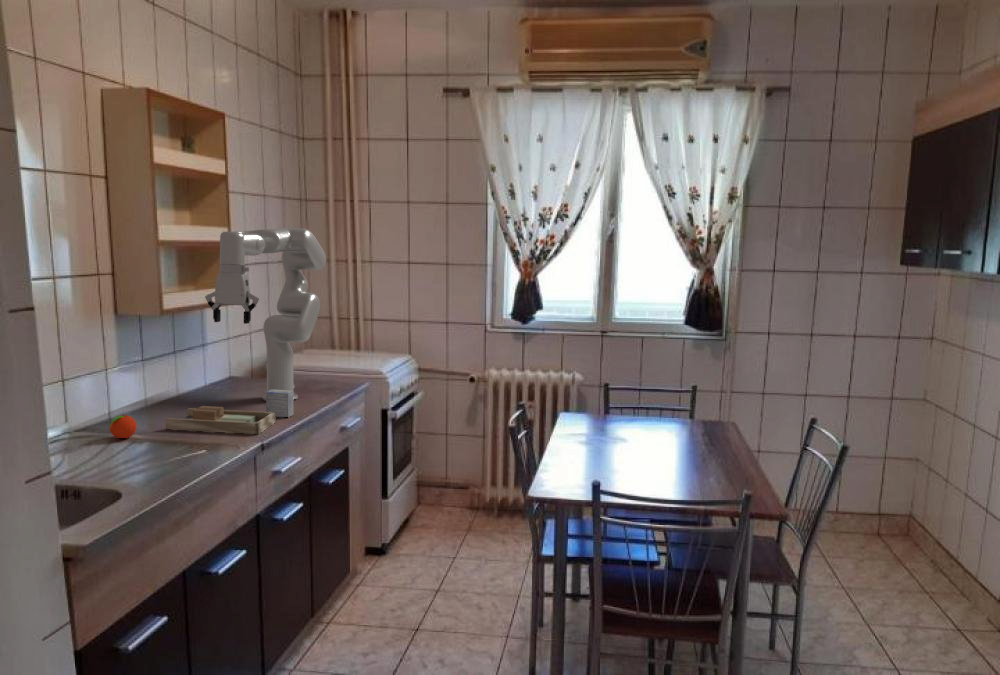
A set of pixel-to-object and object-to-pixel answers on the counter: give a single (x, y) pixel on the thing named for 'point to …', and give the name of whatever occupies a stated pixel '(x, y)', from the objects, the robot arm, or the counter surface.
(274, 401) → the medicine box
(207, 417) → the walnut block
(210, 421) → the tray
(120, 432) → the clementine
